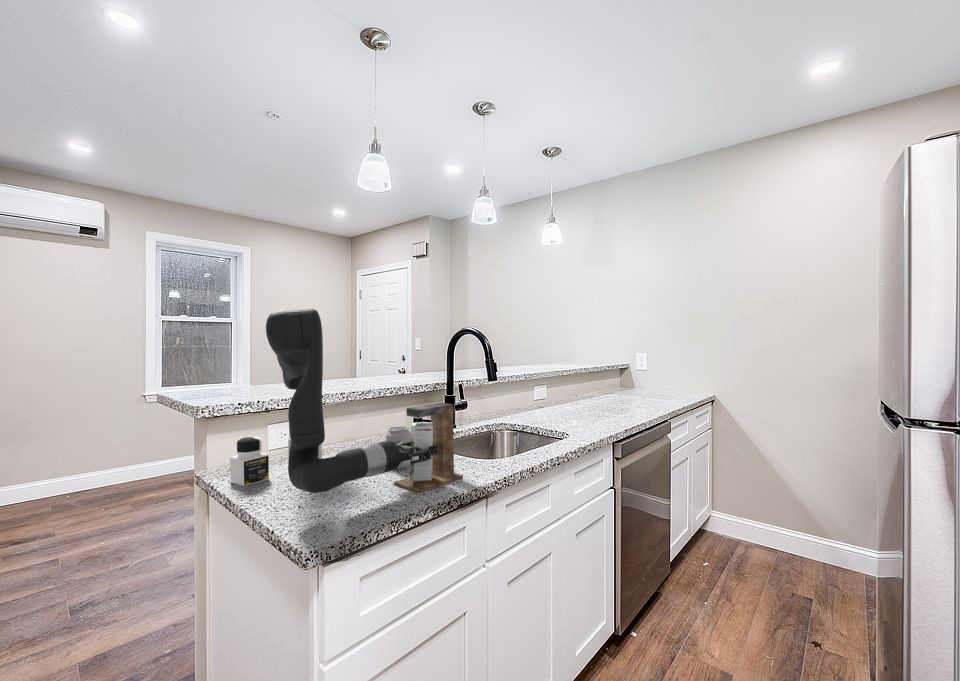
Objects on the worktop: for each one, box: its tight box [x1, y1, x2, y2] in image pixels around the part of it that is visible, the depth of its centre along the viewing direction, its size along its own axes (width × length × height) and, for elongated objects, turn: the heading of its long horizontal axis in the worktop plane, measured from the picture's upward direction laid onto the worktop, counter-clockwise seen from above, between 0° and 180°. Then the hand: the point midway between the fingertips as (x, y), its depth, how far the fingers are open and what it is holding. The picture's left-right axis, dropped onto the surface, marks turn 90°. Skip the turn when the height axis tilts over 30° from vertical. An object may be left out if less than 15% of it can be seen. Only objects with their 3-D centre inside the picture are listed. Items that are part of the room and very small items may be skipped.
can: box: [385, 425, 411, 471], centre depth 132 cm, size 8×8×12 cm
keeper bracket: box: [393, 402, 464, 494], centre depth 118 cm, size 16×10×20 cm, turn 138°
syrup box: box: [409, 421, 433, 481], centre depth 116 cm, size 6×6×14 cm
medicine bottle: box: [229, 436, 270, 487], centre depth 120 cm, size 7×7×12 cm
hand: (427, 446), depth 118 cm, fingers closed on syrup box, 8 cm apart
